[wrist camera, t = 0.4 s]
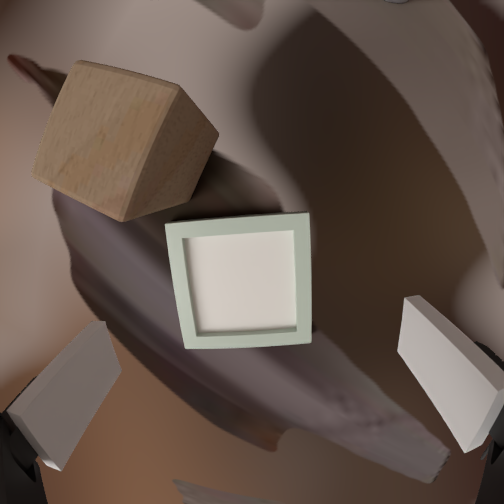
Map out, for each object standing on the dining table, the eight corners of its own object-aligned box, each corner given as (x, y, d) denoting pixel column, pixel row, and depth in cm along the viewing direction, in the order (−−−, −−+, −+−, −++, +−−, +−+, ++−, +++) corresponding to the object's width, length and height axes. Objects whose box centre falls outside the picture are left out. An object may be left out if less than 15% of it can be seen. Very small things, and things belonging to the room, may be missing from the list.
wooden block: (221, 133, 35) (182, 84, 16) (189, 203, 38) (122, 225, 18) (155, 108, 35) (74, 57, 15) (126, 175, 37) (27, 177, 17)
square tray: (169, 221, 38) (164, 224, 36) (306, 211, 37) (309, 213, 35) (188, 341, 42) (185, 348, 40) (308, 335, 42) (311, 342, 39)
